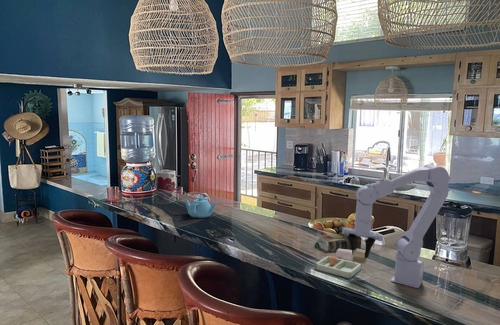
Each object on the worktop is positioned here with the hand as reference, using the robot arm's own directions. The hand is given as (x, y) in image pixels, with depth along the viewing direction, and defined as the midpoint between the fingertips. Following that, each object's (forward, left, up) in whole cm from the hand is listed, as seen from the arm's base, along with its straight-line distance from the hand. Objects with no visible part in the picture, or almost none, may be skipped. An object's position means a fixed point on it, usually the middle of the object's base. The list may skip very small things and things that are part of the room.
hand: (360, 255), depth 144 cm
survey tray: (+9, -2, -8) cm, 12 cm away
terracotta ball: (+12, -4, -8) cm, 15 cm away
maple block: (0, 0, -2) cm, 2 cm away
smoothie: (+14, -15, -6) cm, 21 cm away
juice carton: (+20, -29, -9) cm, 36 cm away
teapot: (+106, -31, -9) cm, 110 cm away
